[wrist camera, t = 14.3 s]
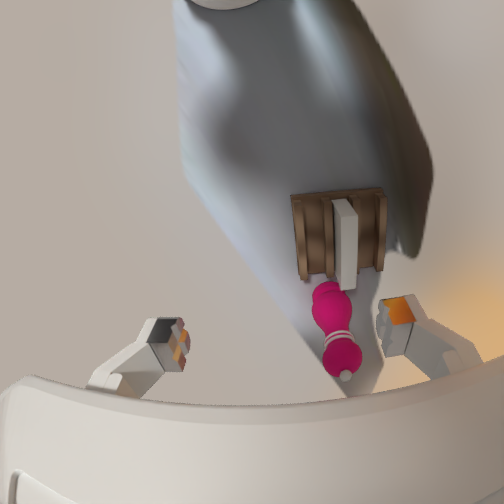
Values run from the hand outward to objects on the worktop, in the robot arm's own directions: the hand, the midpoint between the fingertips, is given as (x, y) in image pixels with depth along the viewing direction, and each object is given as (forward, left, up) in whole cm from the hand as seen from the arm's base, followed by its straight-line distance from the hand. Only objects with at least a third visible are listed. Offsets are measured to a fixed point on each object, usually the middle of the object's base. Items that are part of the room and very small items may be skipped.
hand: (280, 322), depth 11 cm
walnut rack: (+13, +9, -34) cm, 38 cm away
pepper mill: (+26, +7, -34) cm, 44 cm away
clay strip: (+13, +9, -33) cm, 36 cm away
